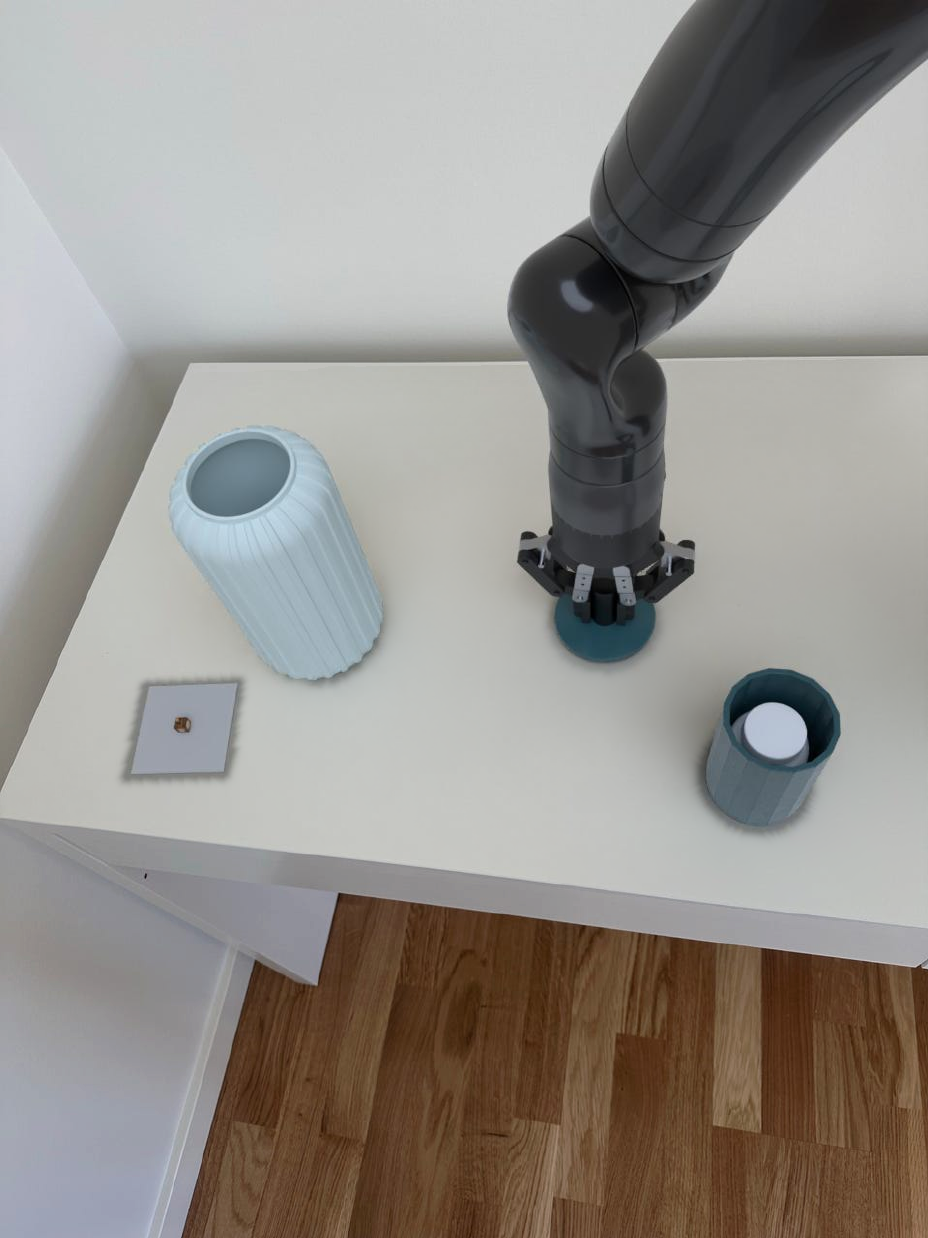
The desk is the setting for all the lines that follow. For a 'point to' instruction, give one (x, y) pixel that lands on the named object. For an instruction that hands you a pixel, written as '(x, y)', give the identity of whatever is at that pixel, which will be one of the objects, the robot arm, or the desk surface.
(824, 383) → the desk surface
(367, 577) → the vase
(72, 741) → the desk surface
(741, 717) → the pill bottle
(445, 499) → the desk surface
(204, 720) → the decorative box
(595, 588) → the lid
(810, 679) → the pot
